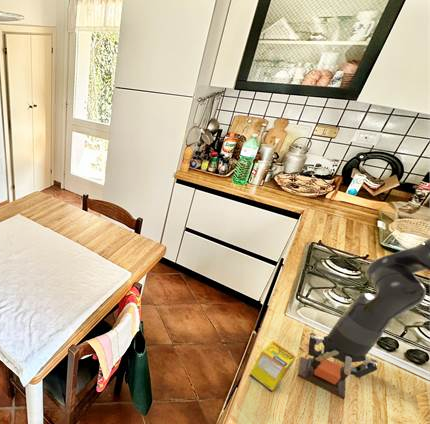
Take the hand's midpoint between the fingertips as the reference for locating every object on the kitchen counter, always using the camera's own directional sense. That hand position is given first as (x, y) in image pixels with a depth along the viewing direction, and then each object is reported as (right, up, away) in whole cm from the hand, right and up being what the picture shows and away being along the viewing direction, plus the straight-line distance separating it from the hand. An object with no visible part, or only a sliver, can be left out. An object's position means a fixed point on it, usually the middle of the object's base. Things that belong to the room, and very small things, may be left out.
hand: (325, 372), depth 84 cm
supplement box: (-16, -2, +1) cm, 16 cm away
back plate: (0, -2, +1) cm, 3 cm away
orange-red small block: (0, 0, 0) cm, 0 cm away
